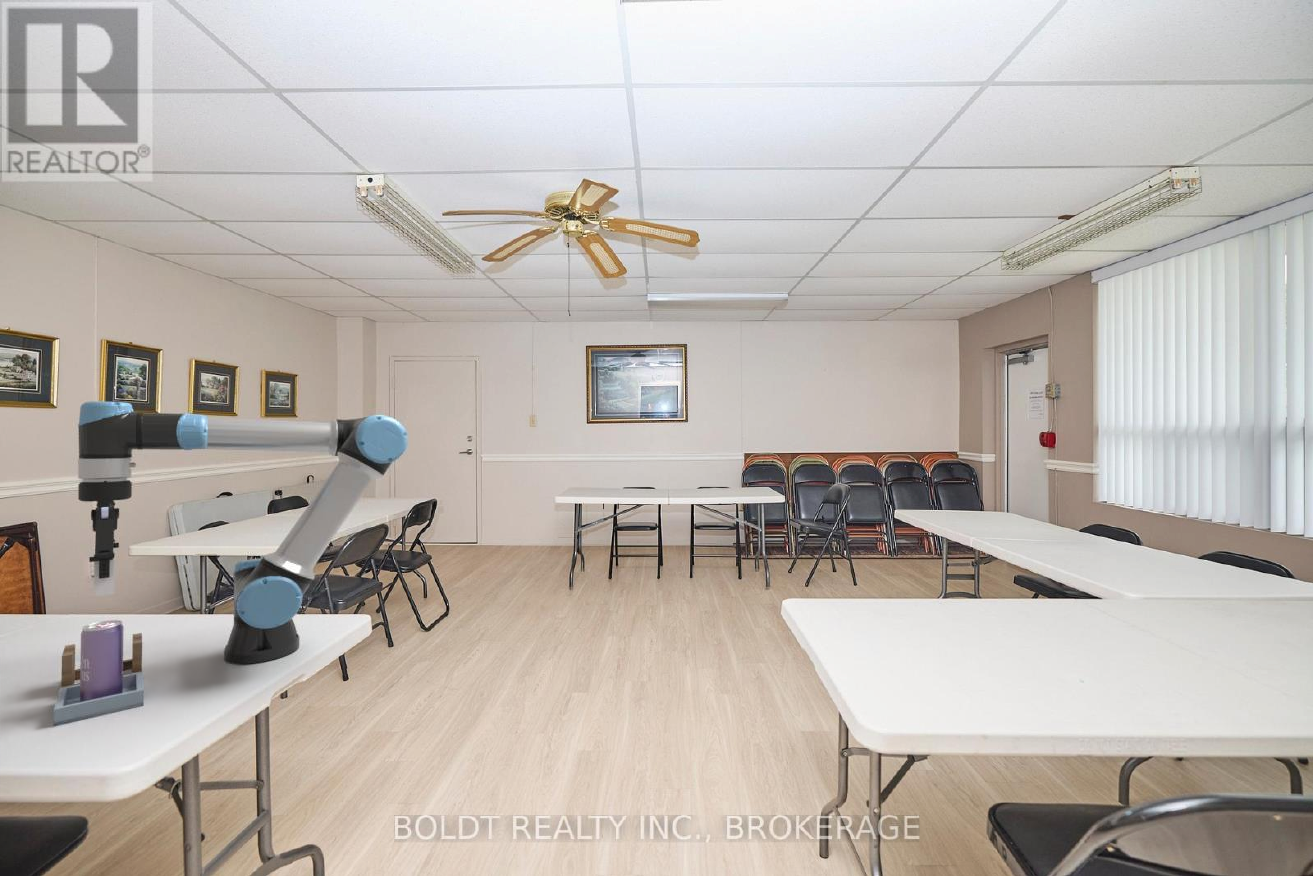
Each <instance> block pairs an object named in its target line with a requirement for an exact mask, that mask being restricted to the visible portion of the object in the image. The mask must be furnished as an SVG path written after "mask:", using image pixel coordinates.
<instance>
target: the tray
mask: <svg viewBox="0 0 1313 876" xmlns="http://www.w3.org/2000/svg"><path fill="white" fill-rule="evenodd" d="M143 672H144V671H143V670H142V672H137V673H133V674H128V673H127V674H128V675H123V693H120V694H116V695H111V696H106V697H102V698H97V699H93V700H88V701H83V702H80V684H78V683H77V684H78V685H73V686H68V687H63V688H61V687H60V688H59V691H58V694H57V698H56V700H55V704H54V709H53V727H57V726H61V725H65V724H71V723H74V722H78V721H82V720H87V719H90V718H91V719H92V718H96V717H99V716H103V715H104V716H105V715H108V714H113V713H117V712H121V711H125V710H129V709H130V710H131V709H135V708H138V707H143V706H144V705H145V704H144V703H145V702H144V696H145V695H144V693H145V691H144V688H145V687H144V673H143Z"/></svg>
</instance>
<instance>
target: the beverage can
mask: <svg viewBox="0 0 1313 876" xmlns="http://www.w3.org/2000/svg"><path fill="white" fill-rule="evenodd" d="M81 629H82V631H81V632H80V660H79V661H80V664H79V665H80V667H79V669H80V680H79V683H80V702H83V701H88V700H93V699H97V698H102V697H106V696H111V695H116V694H120V693H123V674H124V671H123V661H124V632H125V631H124V629H125V628H124V625H123V621H122V620H118V619H116V620H115V619H114V620H113V619H111V620H103V621H98V622H93V623H89V624H86V625H85V626H83V627H82V628H81Z"/></svg>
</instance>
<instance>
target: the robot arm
mask: <svg viewBox="0 0 1313 876" xmlns="http://www.w3.org/2000/svg"><path fill="white" fill-rule="evenodd" d="M77 427H78V459H77V478H78V480H79V479H80V480H82V481H80V482H79V483H78V493H77V494H78V495H77V498H78V500H79V501H81V502H87V503H88V502H91V503H92V502H96V507H95V509H91V513H90V519H91V521H92V532H95V535H94V536H95V538H94V539H95V541H94V542H95V543H94V544H95V545H94V554H93V556H89V563H94V564H93V597H100V596H101V597H102V596H108V595H115V581H116V580H115V578H116V575H115V573H116V569H115V568H116V567H115V566H116V562H115V561H116V548H117V549H118V548H120V543H119V542H116V539H115V531H116V530H117V529H118V520H119V519H120V507H117V508H116V507H115V506H116V502H115V501H123V500H125V501H126V500H128V499H131V498H132V494H133V493H132V491H133V489H132V488H133V487H132V486H133V485H132V484H133V482H132V481H131V480H130V478H131V477H132V469H131V468H135V467H136V466H137V463H136V462H132V458H133V450H139V451H140V450H141V451H143V450H160V451H161V450H163V451H164V450H168V451H169V450H171V451H173V450H177V451H178V450H184V451H192V450H231V451H232V450H233V451H264V452H265V451H269V452H271V451H272V452H276V451H277V452H278V451H279V452H310V453H311V452H312V453H313V452H314V453H316V452H317V453H318V452H319V453H320V452H321V453H323V452H324V453H328V454H329V455H331V457H338V462H337V464H336V466H335V467H334V468H333V470H332V471H331V473H330V474H329V476H328V477H327V479H326V480H325V482H324V483H323V484H322V485H321V487H320V489H318V491H317V493H316V494H315V496H314V497H313V499H312V500H311V501H310V503H309V504H308V505H307V507H306V508H305V509H304V511H303V512H302V514H301V515H300V516H299V518H298V519H297V521H296V522H295V524H294V525H293V527H292V528H291V529H290V531H289V532H288V534H287V535H286V536H285V538H284V539H283V541H282V542H281V544H280V545H279V546H278V548H277V549H276V551H274V552H272V553H268V554H265V555H263V556H262V558H253V559H252V558H251V559H245V560H240V561H238V562H236V563H235V565H234V571H233V573H232V574H233V576H234V577H233V586H234V587H233V626H232V629H231V633H230V634H229V637H228V641H227V644H226V645H225V647H224V649H223V660H224V662H226V663H229V664H236V665H237V664H238V665H239V664H240V665H247V664H256V663H257V664H258V663H262V662H263V663H264V662H268V661H273V660H276V659H280V658H283V657H285V656H288V655H290V654H291V655H292V654H293V653H294V652H295V651H297V650H298V649H300V635H299V633H297V632H298V631H297V627H296V625H295V622H294V619H293V618H294V617H295V616H296V615H297V614H298V612H299V611H300V608H301V606H302V604H303V603H302V602H303V596H304V594H305V593H306V592H307V590H308V588H309V587H310V585H311V584H312V582H313V581H314V580H315V578H316V576H315V573H314V567H315V566H316V565H317V563H318V562H319V559H321V557H322V555H323V554H324V553H325V551H326V550H327V548H328V546H329V545H330V543H331V542H332V541H333V539H334V538H335V537H336V535H337V533H338V532H339V531H340V529H341V527H342V526H343V524H344V523H345V521H347V518H348V517H349V516H350V514H351V512H352V511H353V509H354V508H355V506H356V505H357V504H358V502H359V501H360V499H361V497H362V496H363V495H364V493H365V492H366V490H367V488H368V487H369V486H370V484H371V483H372V481H374V480H375V479H380V478H383V477H384V475H385V474H386V472H387V470H388V469H389V468H390V467H391V466H392V463H393V462H395V461H397V460H399V459H400V458H401V457H402V455H403V454H404V453H405V452H406V450H407V447H408V442H409V441H408V434H407V430H406V429H405V427H404V426H403V424H401V422H400V421H398V420H397V419H395V418H393V417H390V416H388V415H383V414H375V415H373V414H372V415H370V416H364V417H359V418H351V419H336V418H334V419H332V420H331V421H330V422H322V421H321V422H320V421H319V422H318V421H317V422H315V421H299V420H298V421H297V420H296V421H295V420H294V421H293V420H275V419H255V418H254V419H253V418H235V417H234V418H233V417H213V416H206V415H204V414H196V413H195V414H193V413H189V412H187V413H169V412H167V413H159V412H158V413H157V412H156V413H152V412H151V413H150V412H149V413H148V412H145V413H144V412H137V411H135V412H134V409H133V405H132V404H131V403H130V402H121V401H102V400H101V401H100V400H99V401H96V400H95V401H93V400H92V401H91V400H90V401H85V402H84V403H82V404H81V405H80V407H79V419H78V424H77ZM128 479H129V480H128Z"/></svg>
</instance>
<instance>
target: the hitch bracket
mask: <svg viewBox="0 0 1313 876" xmlns="http://www.w3.org/2000/svg"><path fill="white" fill-rule="evenodd" d="M131 653H132V656H131V657H132V658H130V659H125V660H124V659H123V672H126V671H131V670H132V671H131V672H127V673H123V675H128V674H133V673H137V672H142V671H143V633H142V632H140V633H133V634H132V651H131ZM76 681H80V668H77V669H76V643H73V644H66V645H65V646H64V648H63V651H62V654H61V686H60V688H63V687H68V686H73V685H78V684H80V682H79V683H75V682H76Z"/></svg>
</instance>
